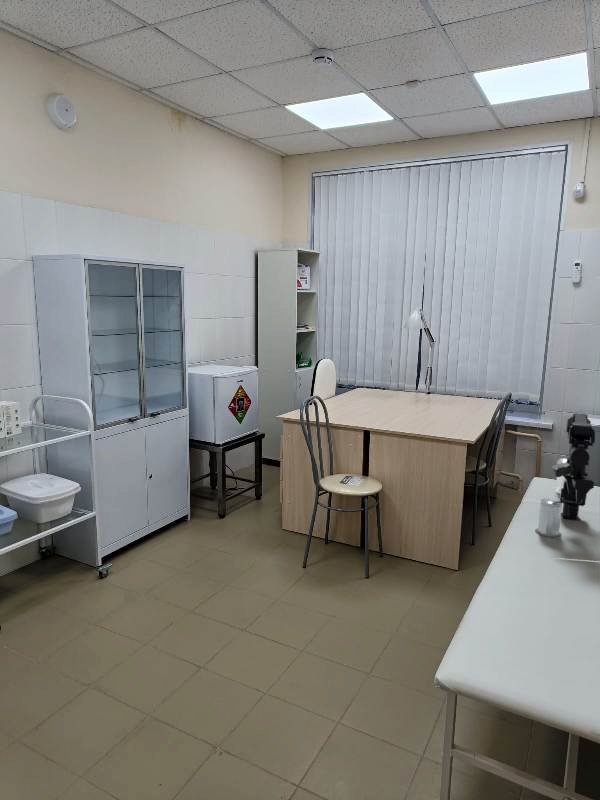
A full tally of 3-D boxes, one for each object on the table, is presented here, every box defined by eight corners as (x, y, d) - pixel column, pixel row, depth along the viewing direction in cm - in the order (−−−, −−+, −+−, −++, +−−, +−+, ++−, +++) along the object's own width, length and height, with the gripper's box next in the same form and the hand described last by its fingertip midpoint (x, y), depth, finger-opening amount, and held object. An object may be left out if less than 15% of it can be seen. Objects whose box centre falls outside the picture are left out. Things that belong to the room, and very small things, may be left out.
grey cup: (538, 527, 208) (541, 497, 206) (558, 530, 205) (561, 500, 203) (537, 534, 202) (540, 503, 200) (558, 538, 199) (562, 506, 197)
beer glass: (567, 490, 250) (571, 458, 248) (573, 495, 244) (577, 462, 241) (551, 489, 251) (554, 457, 248) (557, 494, 244) (560, 462, 242)
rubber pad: (532, 528, 209) (532, 526, 209) (557, 530, 207) (557, 528, 207) (538, 538, 200) (538, 537, 200) (564, 540, 199) (564, 538, 198)
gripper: (547, 449, 211) (544, 488, 214) (562, 463, 193) (558, 506, 196) (578, 451, 209) (574, 490, 212) (597, 465, 191) (592, 508, 194)
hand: (574, 498), depth 204 cm, fingers open, 9 cm apart
